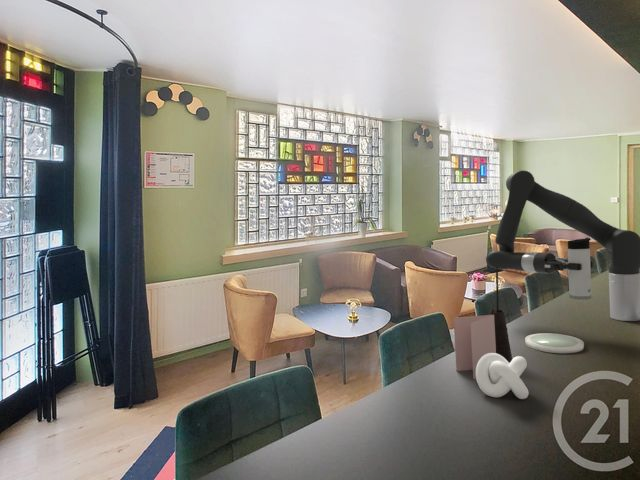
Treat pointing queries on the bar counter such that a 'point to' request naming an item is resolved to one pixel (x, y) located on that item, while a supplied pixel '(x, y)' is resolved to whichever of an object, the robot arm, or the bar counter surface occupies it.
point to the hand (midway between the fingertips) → (586, 265)
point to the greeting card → (473, 340)
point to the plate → (554, 343)
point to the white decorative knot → (501, 375)
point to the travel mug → (579, 278)
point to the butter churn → (501, 329)
